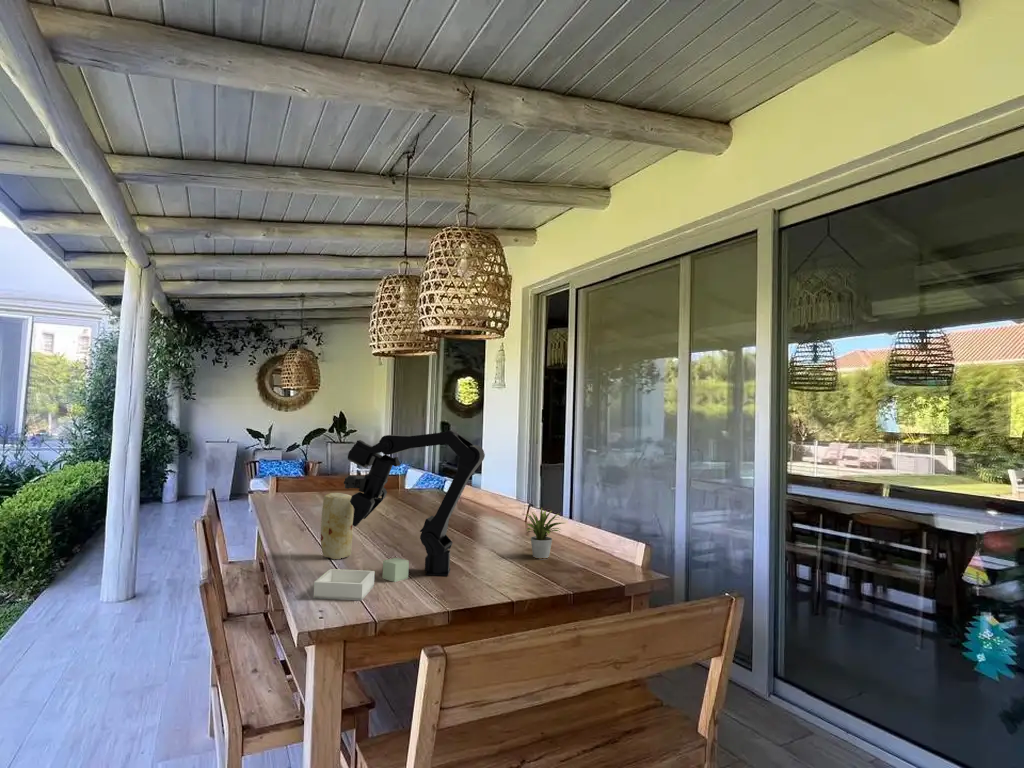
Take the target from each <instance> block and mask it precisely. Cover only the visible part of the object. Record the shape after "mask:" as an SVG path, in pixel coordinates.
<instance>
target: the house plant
mask: <svg viewBox="0 0 1024 768" xmlns="http://www.w3.org/2000/svg"><path fill="white" fill-rule="evenodd" d="M552 512H553V510H550V511H549V512H548V513H547V510H544V511H543V507H541V509H540V513H539V514H540V515H539V519H538V516H537V514H536V513H535V512H531V514H532V516H533V517H532V516H531V514H530V513H528V514H526V513H525V514H523V513H522V515H524V516H526V517H527V518H528V519H529V520H530V522H531V523H527V524H526V526H529V527H528V528H527V529H526V531H527V533H530V532H531V533H534V535H535V536H534V535H533V536H531V537H530V541H531V542H530V543H531V550H532V552H531V553H532V558H533V557H536V558H548V557H550V552H551V548H552V543H553V538H552V537H550V536H548V535H550V534H551V533H552V532H559V533H561V532H562V531H561V528H560V527H555V526H557V525H561V524H565V522H553V521H555V520H559V519H558V517H557V516H558V515H560V514H561V513H557V514H555V515H553V517H552V518H550V520H548V522H547V523H546V521H547V519H548V518H549V515H551V513H552ZM548 559H549V558H548Z"/></svg>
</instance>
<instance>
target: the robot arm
mask: <svg viewBox="0 0 1024 768" xmlns="http://www.w3.org/2000/svg"><path fill="white" fill-rule="evenodd" d="M441 445H447V446H448V447H449V448H450V449H451V450H452V452H454V453H455V454H456V455H457V456H458V457H459V458H458V462H457V466H456V467H457V468H456V473H455V475H454V477H453V478H452V481H451V483H450V484H449V487H448V489H447V491H446V493H445V495H444V496H443V497H444V498H443V499H442V501H441V503H440V505H439V506H438V509H437V511H436V513H435V515H431V516H429V517H427V518H426V519H425V521H424V524H423V526H422V528H421V529H420V530H419V532H420V537H419V540H420V541H421V544H422V546H424V548H425V549H424V550H425V551H426V556H425V559H424V561H425V562H424V571H425V574H424V575H425V576H443V577H444V576H445V577H447V576H449V574H450V573H451V568H450V566H451V564H450V563H451V550H450V549H451V548H452V546H453V541H452V539H450V537H449V536H448V535H447V531H448V528H449V521H450V518H451V516H452V514H453V511H454V510H455V509H456V506H457V504H458V502H459V500H460V498H461V495H462V494H463V492H464V490H465V487H467V483H468V481H469V479H470V478H471V476H472V475H473V474H474V473H475V471H476V470H477V469H478V468H479V466H480V465H481V464H482V463H483V461H484V459H485V455H486V454H485V452H484V451H485V450H484V449H483V448H482V447H481V446H480V445H477V444H475V445H474V444H473V443H472V442H471V441H469V440H468V439H466V438H465V437H463V436H461V435H460V434H459V433H458V431H456V430H453V429H452V430H446V431H443V432H435V433H427V434H418V435H406V434H386V435H383V436H381V438H380V439H379V441H378V443H375V444H374V445H370V444H368V443H366V442H365V441H363V440H361V439H360V440H357V441H356V442H355V444H354V445H353V446H352V447H351V449H350V450H349V451H348V454H347V460H348V461H349V462H351V463H353V464H356V465H358V466H360V467H363V468H367V467H370V469H369V471H368V473H367V474H365V475H351V474H350V475H348V476H345V478H344V481H343V484H344V489H346V490H347V489H358V492H356V493H354V494H353V495H351V496H352V497H351V500H350V502H351V505H353V524H352V525H353V527H357V526H358V525H359V524H360V522H362V521H363V520H365V519H367V518H368V516H370V514H371V513H372V512H373V511H374V510H375V509H376V508H377V507H378V506H379V505H380V504H381V503H382V502H383V501H384V499H385V498H386V497H387V494H388V491H387V488H385V485H386V484H387V483H388V481H389V480H388V477H389V475H390V472H391V470H392V468H393V466H394V467H399V466H401V462H400V460H399V457H398V456H394V457H392V456H390V455H394V454H395V455H396V454H399V453H401V452H405V451H407V450H410V449H414V448H415V449H416V448H423V447H432V446H433V447H434V446H441ZM379 453H382V454H383V455H381V454H379Z"/></svg>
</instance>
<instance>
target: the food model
mask: <svg viewBox="0 0 1024 768" xmlns="http://www.w3.org/2000/svg"><path fill="white" fill-rule="evenodd" d="M351 497H352V495H350V494H347V493H343V492H331V493H327V494H325V495H324V496H323V501H322V507H321V508H322V509H321V510H322V511H321V520H320V548H321V553H322V556H323V557H324V558H329V559H331V560H335V559H338V560H341V558H342V559H344V558H348V557H350V555H351V554H352V544H353V527H354V526H353V525H352V524H353V517H354V507H353V505H351V502H350V500H351Z"/></svg>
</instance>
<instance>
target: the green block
mask: <svg viewBox="0 0 1024 768" xmlns="http://www.w3.org/2000/svg"><path fill="white" fill-rule="evenodd" d="M409 563H410V561H409V560H408V559H404V558H400V557H393V558H392V557H391V558H389V559H385V560H382V576H381V577H382V579H383V580H385V581H386V580H387V581H390V582H393V583H397V582H399V581H403V580H407V579H409V566H410V564H409Z"/></svg>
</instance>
